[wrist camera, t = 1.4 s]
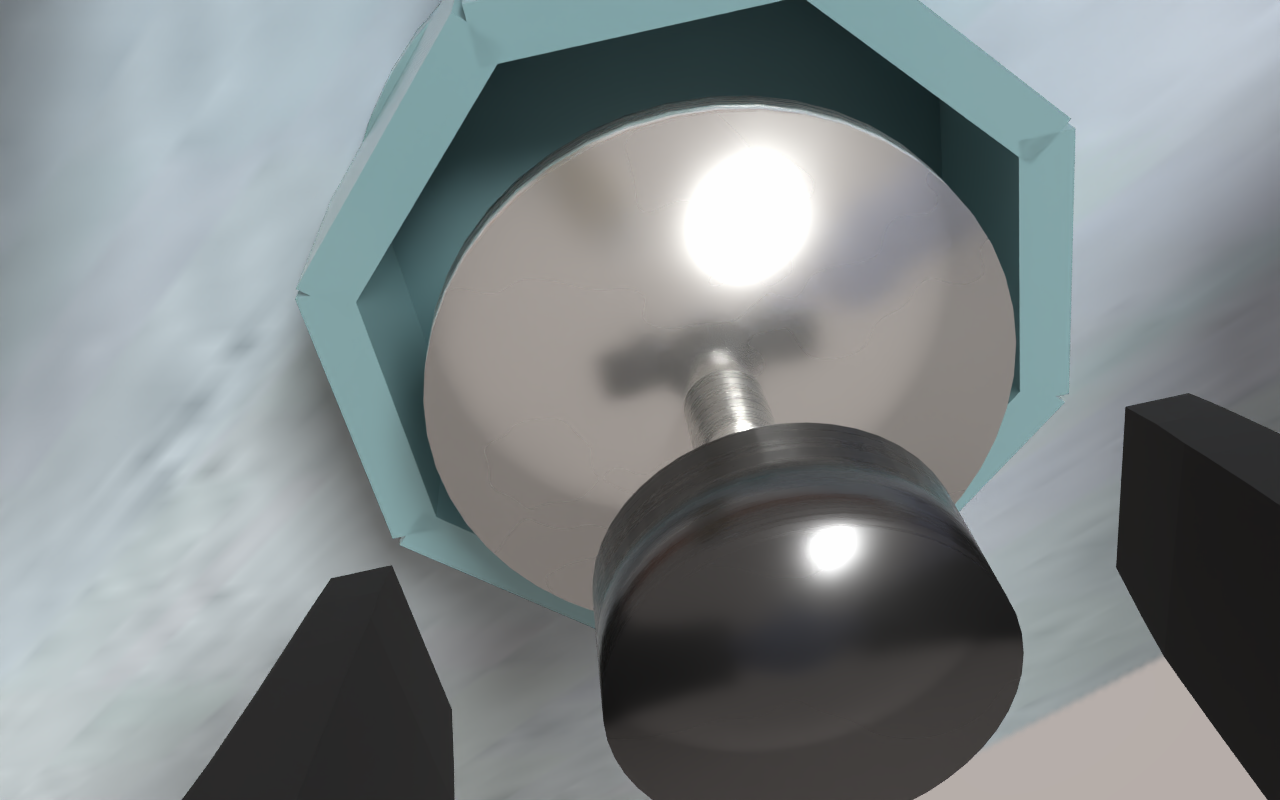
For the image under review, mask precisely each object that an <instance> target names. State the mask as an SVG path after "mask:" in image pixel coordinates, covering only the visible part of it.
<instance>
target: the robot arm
mask: <svg viewBox="0 0 1280 800" xmlns="http://www.w3.org/2000/svg"><path fill="white" fill-rule="evenodd" d="M1116 568H1117V570H1118V572H1119V574H1120V576H1121V578H1122V580H1123V581H1124V583H1125V585H1126V587H1127V589H1128V591H1129V593H1130V595H1131V597H1132V599H1133V601H1134V603H1135V605H1136V606H1137V608H1138V610H1139V612H1140V614H1141V616H1142V618H1143V620H1144V621H1145V623H1146V625H1147V627H1148V629H1149V630H1150V632H1151V634H1152V636H1153V637H1154V639H1155V641H1156V643H1157V645H1158V646H1159V648H1160V650H1161V652H1162V654H1163V655H1164V657H1165V658H1166V660H1167V661H1168V663H1169V664H1170V666H1171V667H1172V668H1173V670H1174V671H1175V673H1176V674H1177V676H1178V677H1179V678H1180V680H1181V681H1182V683H1183V684H1184V685H1185V687H1186V688H1187V690H1188V691H1189V692H1190V694H1191V695H1192V696H1193V698H1194V699H1195V701H1196V702H1197V704H1198V705H1199V706H1200V708H1201V709H1202V711H1203V712H1204V713H1205V715H1206V716H1207V717H1208V719H1209V720H1210V722H1211V723H1212V724H1213V726H1214V727H1215V728H1216V730H1217V731H1218V733H1219V734H1220V735H1221V737H1222V738H1223V740H1224V741H1225V742H1226V744H1227V745H1228V746H1229V748H1230V749H1231V751H1232V752H1233V753H1234V755H1235V756H1236V757H1237V759H1238V760H1239V761H1240V763H1241V764H1242V766H1243V767H1244V768H1245V770H1246V771H1247V772H1248V773H1249V775H1250V777H1251V778H1252V779H1253V781H1254V782H1255V783H1256V785H1257V786H1258V788H1259V789H1260V790H1261V792H1262V793H1263V794H1264V795H1265V797H1266V798H1267V800H1280V434H1279V433H1277V432H1275V431H1272V430H1270V429H1268V428H1266V427H1264V426H1262V425H1260V424H1257V423H1255V422H1253V421H1251V420H1249V419H1247V418H1245V417H1242V416H1240V415H1238V414H1236V413H1234V412H1231V411H1229V410H1227V409H1225V408H1223V407H1220V406H1218V405H1216V404H1213V403H1211V402H1209V401H1206V400H1204V399H1201V398H1199V397H1197V396H1194V395H1192V394H1189V393H1188V394H1183V395H1178V396H1174V397H1169V398H1165V399H1160V400H1155V401H1151V402H1146V403H1141V404H1137V405H1132V406H1128V407H1126V408H1125V425H1124V442H1123V460H1122V477H1121V494H1120V511H1119V528H1118V546H1117V563H1116ZM182 800H454V756H453V731H452V709H451V707H450V704H449V702H448V699H447V697H446V695H445V692H444V690H443V687H442V685H441V682H440V680H439V678H438V675H437V673H436V670H435V668H434V666H433V663H432V661H431V658H430V656H429V654H428V651H427V649H426V646H425V644H424V641H423V639H422V637H421V634H420V632H419V629H418V627H417V625H416V622H415V620H414V617H413V615H412V613H411V610H410V608H409V605H408V603H407V600H406V598H405V596H404V593H403V591H402V588H401V586H400V584H399V581H398V579H397V576H396V574H395V572H394V569H393V567H392V565H391V566H386V567H382V568H377V569H372V570H368V571H363V572H359V573H354V574H349V575H345V576H340V577H335V578H331V579H330V581H329V582H328V584H327V585H326V587H325V588H324V590H323V591H322V593H321V594H320V596H319V597H318V599H317V600H316V602H315V603H314V605H313V606H312V607H311V609H310V611H309V612H308V614H307V615H306V617H305V618H304V620H303V621H302V623H301V624H300V626H299V628H298V629H297V631H296V632H295V634H294V635H293V637H292V638H291V640H290V642H289V643H288V645H287V646H286V648H285V649H284V651H283V652H282V654H281V656H280V657H279V659H278V660H277V662H276V663H275V665H274V666H273V668H272V669H271V671H270V673H269V674H268V676H267V677H266V679H265V680H264V682H263V683H262V685H261V686H260V688H259V690H258V691H257V693H256V694H255V696H254V697H253V699H252V700H251V702H250V703H249V705H248V706H247V708H246V709H245V710H244V712H243V713H242V715H241V716H240V718H239V719H238V721H237V722H236V724H235V725H234V727H233V728H232V730H231V731H230V733H229V734H228V736H227V737H226V739H225V740H224V742H223V743H222V745H221V746H220V748H219V749H218V750H217V752H216V753H215V755H214V756H213V758H212V759H211V761H210V762H209V764H208V765H207V766H206V768H205V769H204V771H203V772H202V773H201V775H200V776H199V777H198V779H197V780H196V781H195V783H194V784H193V786H192V787H191V788H190V790H189V791H188V792H187V794H186V795H185V796H184V798H183V799H182Z"/></svg>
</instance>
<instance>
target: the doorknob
mask: <svg viewBox="0 0 1280 800" xmlns="http://www.w3.org/2000/svg"><path fill="white" fill-rule="evenodd" d="M1015 352H1016V334H1015V322H1014V310H1013V305H1012V301H1011V297H1010V293H1009V289H1008V285H1007V281H1006V277H1005V274H1004V272H1003V269H1002V267H1001V265H1000V262H999V260H998V258H997V255H996V253H995V250H994V248H993V246H992V244H991V242H990V240H989V239H988V237H987V236H986V234H985V233H984V231H983V229H982V228H981V226H980V225H979V223H978V221H977V220H976V218H975V217H974V215H973V214H972V213H971V211H970V210H969V209H968V208H967V207H966V206H965V205H964V204H963V202H962V201H961V200H960V199H959V198H958V197H957V196H956V194H955V193H954V192H953V191H952V190H951V189H950V188H949V187H948V185H947V184H946V183H945V182H944V181H943V180H942V179H941V178H940V177H939V176H938V175H937V174H936V173H935V172H934V171H933V170H932V169H931V168H930V167H929V166H928V165H927V164H925V163H924V162H923V161H922V160H921V159H919V158H918V157H917V156H916V155H915V154H913V153H912V152H911V151H910V150H908V149H907V148H906V147H905V146H904V145H902V144H901V143H899V142H897V141H896V140H894V139H892V138H891V137H889V136H887V135H886V134H884V133H882V132H881V131H879V130H877V129H876V128H874V127H872V126H870V125H868V124H866V123H863V122H861V121H859V120H856V119H854V118H851V117H849V116H846V115H844V114H842V113H839V112H837V111H834V110H831V109H827V108H823V107H819V106H815V105H811V104H807V103H803V102H799V101H796V100H789V99H780V98H771V97H762V96H753V95H749V96H709V97H702V98H696V99H689V100H683V101H676V102H670V103H665V104H662V105H658V106H655V107H651V108H648V109H644V110H641V111H637V112H634V113H630V114H627V115H624V116H622V117H619V118H617V119H615V120H613V121H610V122H608V123H606V124H603V125H601V126H599V127H596V128H594V129H592V130H590V131H587V132H585V133H583V134H582V135H580V136H578V137H577V138H575V139H573V140H572V141H570V142H568V143H567V144H565V145H563V146H562V147H560V148H558V149H557V150H555V151H553V152H552V153H550V154H548V155H547V156H546V157H545V158H543V159H542V160H541V161H540V162H538V163H537V164H536V165H535V166H533V167H532V168H531V169H530V170H528V171H527V172H526V173H524V174H523V175H522V176H521V177H519V178H518V179H517V180H516V181H515V182H514V183H513V184H512V185H511V186H510V187H509V188H508V189H507V190H506V191H505V192H504V193H503V194H502V195H501V196H500V197H499V198H498V199H497V200H496V202H495V203H494V204H493V205H492V206H491V207H490V208H489V209H488V210H487V211H486V213H485V214H484V216H483V217H482V218H481V220H480V221H479V222H478V224H477V225H476V226H475V228H474V229H473V231H472V232H471V233H470V235H469V236H468V237H467V239H466V240H465V242H464V244H463V246H462V247H461V249H460V251H459V253H458V255H457V257H456V259H455V261H454V262H453V264H452V266H451V268H450V270H449V272H448V274H447V276H446V279H445V282H444V285H443V288H442V290H441V293H440V296H439V299H438V302H437V304H436V307H435V311H434V316H433V321H432V326H431V332H430V337H429V342H428V348H427V355H426V362H425V373H424V398H423V404H424V413H425V421H426V430H427V437H428V440H429V444H430V448H431V451H432V455H433V458H434V462H435V466H436V469H437V471H438V473H439V475H440V477H441V480H442V482H443V484H444V486H445V489H446V491H447V493H448V495H449V497H450V499H451V500H452V502H453V503H454V505H455V507H456V508H457V510H458V511H459V513H460V514H461V516H462V517H463V519H464V521H465V522H466V524H467V525H468V526H469V527H470V528H471V529H472V531H473V532H474V533H475V534H476V535H477V536H478V538H479V539H480V540H481V541H482V542H483V543H484V544H485V546H486V547H487V548H488V549H489V550H490V551H492V552H493V553H494V554H495V555H496V556H497V557H498V558H500V559H501V560H502V561H503V562H504V563H505V564H506V565H508V566H509V567H510V568H511V569H512V570H514V571H515V572H517V573H518V574H520V575H521V576H523V577H524V578H526V579H527V580H529V581H530V582H532V583H533V584H535V585H536V586H538V587H540V588H541V589H543V590H545V591H547V592H549V593H551V594H553V595H555V596H557V597H559V598H561V599H563V600H565V601H567V602H570V603H573V604H575V605H578V606H581V607H584V608H586V609H589V610H592V611H594V619H595V630H596V642H597V653H598V664H599V676H600V687H601V698H602V710H603V721H604V726H605V731H606V736H607V740H608V743H609V745H610V747H611V750H612V752H613V755H614V757H615V759H616V760H617V762H618V764H619V765H620V767H621V768H622V770H623V771H624V773H625V774H626V775H627V776H628V778H629V779H630V780H631V781H632V782H633V783H634V784H635V785H636V786H637V787H638V788H639V789H640V790H641V791H642V792H644V793H645V794H646V795H647V796H649V797H650V798H651V799H652V800H913V799H915V798H917V797H919V796H921V795H923V794H924V793H926V792H928V791H930V790H931V789H933V788H934V787H936V786H937V785H939V784H940V783H942V782H943V781H945V780H946V779H948V778H949V777H950V776H951V775H953V774H954V773H955V772H956V771H958V770H959V769H960V768H961V767H963V766H964V765H965V764H966V763H967V762H968V761H969V760H970V759H971V758H972V757H973V756H974V755H975V754H976V753H977V752H978V751H979V750H980V749H981V748H982V747H983V746H984V745H985V744H986V743H987V741H988V740H989V739H990V738H991V736H992V735H993V734H994V733H995V731H996V730H997V729H998V727H999V725H1000V724H1001V722H1002V721H1003V719H1004V717H1005V716H1006V714H1007V712H1008V711H1009V708H1010V706H1011V704H1012V701H1013V699H1014V697H1015V695H1016V692H1017V689H1018V685H1019V681H1020V677H1021V674H1022V665H1023V653H1024V652H1023V642H1022V633H1021V629H1020V626H1019V622H1018V619H1017V616H1016V613H1015V611H1014V609H1013V607H1012V605H1011V604H1010V602H1009V600H1008V598H1007V596H1006V594H1005V592H1004V591H1003V589H1002V587H1001V585H1000V584H999V582H998V580H997V578H996V577H995V575H994V573H993V571H992V569H991V568H990V566H989V564H988V562H987V561H986V559H985V557H984V555H983V554H982V552H981V550H980V548H979V547H978V545H977V543H976V541H975V539H974V538H973V536H972V534H971V532H970V531H969V529H968V527H967V525H966V524H965V522H964V520H963V518H962V517H961V515H960V513H959V511H958V510H957V508H956V506H955V504H956V502H957V501H958V500H959V499H960V498H961V497H962V495H963V494H964V492H965V491H966V489H967V488H968V486H969V485H970V483H971V482H972V480H973V479H974V477H975V476H976V474H977V473H978V472H979V470H980V468H981V467H982V465H983V463H984V461H985V459H986V457H987V455H988V453H989V451H990V449H991V447H992V445H993V443H994V441H995V439H996V437H997V434H998V431H999V428H1000V426H1001V423H1002V420H1003V417H1004V415H1005V412H1006V409H1007V405H1008V401H1009V396H1010V391H1011V387H1012V382H1013V377H1014V367H1015Z"/></svg>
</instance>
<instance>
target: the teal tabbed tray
mask: <svg viewBox="0 0 1280 800" xmlns="http://www.w3.org/2000/svg"><path fill="white" fill-rule="evenodd" d="M749 95H753V96H762V97H771V98H780V99H789V100H796V101H799V102H803V103H807V104H811V105H815V106H819V107H823V108H827V109H831V110H834V111H837V112H839V113H842V114H844V115H846V116H849V117H851V118H854V119H856V120H859V121H861V122H863V123H866V124H868V125H870V126H872V127H874V128H876V129H877V130H879V131H881V132H882V133H884V134H886V135H887V136H889V137H891V138H892V139H894V140H896V141H897V142H899V143H901V144H902V145H904V146H905V147H906V148H907V149H908V150H910V151H911V152H912V153H913V154H915V155H916V156H917V157H918V158H919V159H921V160H922V161H923V162H924V163H925V164H927V165H928V166H929V167H930V168H931V169H932V170H933V171H934V172H935V173H936V174H937V175H938V176H939V177H940V178H941V179H942V180H943V181H944V182H945V183H946V184H947V185H948V187H949V188H950V189H951V190H952V191H953V192H954V193H955V194H956V196H957V197H958V198H959V199H960V200H961V201H962V202H963V204H964V205H965V206H966V207H967V208H968V209H969V210H970V211H971V213H972V214H973V215H974V217H975V218H976V220H977V221H978V223H979V225H980V226H981V228H982V229H983V231H984V233H985V234H986V236H987V237H988V239H989V240H990V242H991V244H992V246H993V248H994V250H995V253H996V255H997V258H998V260H999V262H1000V265H1001V267H1002V269H1003V272H1004V274H1005V277H1006V281H1007V285H1008V289H1009V293H1010V297H1011V301H1012V305H1013V310H1014V322H1015V334H1016V352H1015V367H1014V377H1013V382H1012V387H1011V391H1010V396H1009V401H1008V405H1007V409H1006V412H1005V415H1004V417H1003V420H1002V423H1001V426H1000V428H999V431H998V434H997V437H996V439H995V441H994V443H993V445H992V447H991V449H990V451H989V453H988V455H987V457H986V459H985V461H984V463H983V465H982V467H981V468H980V470H979V472H978V473H977V474H976V476H975V477H974V479H973V480H972V482H971V483H970V485H969V486H968V488H967V489H966V491H965V492H964V494H963V495H962V497H961V498H960V499H959V500H958V501H957V502H956V504H955V506H956V508H957V510H958V511H960V510H961V509H962V508H963V507H964V506H965V505H966V504H967V503H968V502H969V501H970V500H971V499H972V498H973V497H974V496H975V495H976V494H977V493H978V492H979V490H980V489H981V488H982V487H983V486H984V485H985V484H986V483H987V482H988V481H989V480H990V479H991V478H992V477H993V476H994V475H995V474H996V473H997V472H998V471H999V470H1000V469H1001V468H1002V467H1003V466H1004V465H1005V464H1006V463H1007V462H1008V461H1009V459H1010V458H1011V457H1012V456H1013V455H1014V454H1015V453H1016V452H1017V451H1018V450H1019V449H1020V448H1021V447H1022V446H1023V445H1024V444H1025V443H1026V442H1027V441H1028V440H1029V439H1030V438H1031V437H1032V436H1033V435H1034V434H1035V433H1036V432H1037V431H1038V430H1039V428H1040V427H1041V426H1042V425H1043V424H1044V423H1045V422H1046V421H1047V420H1048V419H1049V418H1050V417H1051V416H1052V415H1053V414H1054V413H1055V412H1056V411H1057V410H1058V409H1059V408H1060V407H1061V406H1062V405H1063V404H1064V403H1065V402H1064V401H1063V400H1062V399H1061V397H1060V395H1065V394H1069V366H1070V325H1071V285H1072V245H1073V204H1074V164H1075V128H1074V127H1073V126H1071V125H1070V124H1068V122H1069V121H1070V119H1071V118H1069V117H1068V116H1067V115H1065V114H1064V113H1063V112H1062V111H1060V110H1059V109H1058V108H1056V107H1055V106H1054V105H1053V104H1051V103H1050V102H1049V101H1047V100H1046V99H1045V98H1044V97H1042V96H1041V95H1040V94H1038V93H1037V92H1036V91H1035V90H1033V89H1032V88H1031V87H1029V86H1028V85H1027V84H1026V83H1024V82H1023V81H1022V80H1020V79H1019V78H1018V77H1017V76H1015V75H1014V74H1013V73H1011V72H1010V71H1009V70H1008V69H1006V68H1005V67H1004V66H1002V65H1001V64H1000V63H999V62H997V61H996V60H995V59H993V58H992V57H991V56H990V55H988V54H987V53H986V52H984V51H983V50H982V49H981V48H979V47H978V46H977V45H975V44H974V43H973V42H972V41H970V40H969V39H968V38H966V37H965V36H964V35H962V34H961V33H960V32H959V31H957V30H956V29H955V28H953V27H952V26H951V25H950V24H948V23H947V22H946V21H944V20H943V19H942V18H941V17H939V16H938V15H937V14H935V13H934V12H933V11H932V10H930V9H929V8H928V7H926V6H925V5H924V4H923V3H921V2H920V1H919V0H442V1H441V3H440V4H439V6H438V7H437V8H436V9H435V10H434V12H433V13H432V14H431V15H430V16H429V17H428V18H427V20H426V21H425V22H424V23H423V24H422V25H421V27H420V28H419V29H418V30H417V31H416V33H415V34H414V36H413V37H412V39H411V40H410V42H409V44H408V45H407V47H406V48H405V50H404V51H403V53H402V54H401V56H400V57H399V59H398V61H397V62H396V64H395V65H394V67H393V68H392V70H391V73H390V75H389V77H388V79H387V81H386V83H385V86H384V88H383V90H382V92H381V94H380V96H379V99H378V101H377V103H376V105H375V107H374V110H373V113H372V115H371V118H370V121H369V123H368V126H367V130H366V133H365V136H364V140H363V143H362V145H361V147H360V148H359V150H358V152H357V154H356V156H355V157H354V159H353V161H352V163H351V165H350V166H349V168H348V170H347V172H346V174H345V175H344V177H343V179H342V181H341V183H340V184H339V186H338V188H337V190H336V192H335V193H334V195H333V197H332V199H331V201H330V204H329V206H328V209H327V211H326V214H325V216H324V219H323V221H322V224H321V226H320V229H319V231H318V234H317V236H316V239H315V242H314V244H313V247H312V249H311V252H310V254H309V257H308V259H307V262H306V264H305V267H304V269H303V272H302V274H301V277H300V280H299V282H298V285H297V287H296V289H297V290H299V291H298V294H297V296H296V299H295V300H296V302H297V305H298V307H299V310H300V312H301V315H302V317H303V320H304V322H305V324H306V327H307V329H308V332H309V334H310V337H311V339H312V342H313V344H314V347H315V349H316V351H317V354H318V356H319V359H320V361H321V364H322V366H323V369H324V371H325V374H326V376H327V378H328V381H329V383H330V386H331V388H332V391H333V393H334V396H335V398H336V401H337V403H338V405H339V408H340V410H341V413H342V415H343V418H344V420H345V423H346V425H347V428H348V430H349V432H350V435H351V437H352V440H353V442H354V445H355V447H356V450H357V452H358V455H359V457H360V459H361V462H362V464H363V467H364V469H365V472H366V474H367V477H368V479H369V482H370V484H371V486H372V489H373V491H374V494H375V496H376V499H377V501H378V504H379V506H380V509H381V511H382V513H383V516H384V518H385V521H386V523H387V526H388V528H389V531H390V533H391V536H392V538H393V539H394V538H398V537H401V538H400V545H401V546H403V547H405V548H408V549H410V550H412V551H415V552H417V553H419V554H422V555H424V556H426V557H429V558H431V559H433V560H436V561H438V562H440V563H443V564H445V565H447V566H450V567H452V568H454V569H457V570H459V571H461V572H464V573H466V574H468V575H471V576H473V577H475V578H478V579H480V580H482V581H485V582H487V583H489V584H492V585H494V586H496V587H499V588H501V589H503V590H506V591H508V592H510V593H513V594H515V595H517V596H520V597H522V598H524V599H527V600H529V601H531V602H534V603H536V604H538V605H541V606H543V607H545V608H548V609H550V610H552V611H555V612H557V613H559V614H562V615H564V616H567V617H569V618H571V619H574V620H576V621H578V622H581V623H583V624H585V625H588V626H590V627H592V628H595V619H594V611H592V610H589V609H586V608H584V607H581V606H578V605H575V604H573V603H570V602H567V601H565V600H563V599H561V598H559V597H557V596H555V595H553V594H551V593H549V592H547V591H545V590H543V589H541V588H540V587H538V586H536V585H535V584H533V583H532V582H530V581H529V580H527V579H526V578H524V577H523V576H521V575H520V574H518V573H517V572H515V571H514V570H512V569H511V568H510V567H509V566H508V565H506V564H505V563H504V562H503V561H502V560H501V559H500V558H498V557H497V556H496V555H495V554H494V553H493V552H492V551H490V550H489V549H488V548H487V547H486V546H485V544H484V543H483V542H482V541H481V540H480V539H479V538H478V536H477V535H476V534H475V533H474V532H473V531H472V529H471V528H470V527H469V526H468V525H467V524H466V522H465V521H464V519H463V517H462V516H461V514H460V513H459V511H458V510H457V508H456V507H455V505H454V503H453V502H452V500H451V499H450V497H449V495H448V493H447V491H446V489H445V486H444V484H443V482H442V480H441V477H440V475H439V473H438V471H437V469H436V466H435V462H434V458H433V455H432V451H431V448H430V444H429V440H428V437H427V430H426V421H425V413H424V404H423V398H424V373H425V362H426V355H427V348H428V342H429V337H430V332H431V326H432V321H433V316H434V311H435V307H436V304H437V302H438V299H439V296H440V293H441V290H442V288H443V285H444V282H445V279H446V276H447V274H448V272H449V270H450V268H451V266H452V264H453V262H454V261H455V259H456V257H457V255H458V253H459V251H460V249H461V247H462V246H463V244H464V242H465V240H466V239H467V237H468V236H469V235H470V233H471V232H472V231H473V229H474V228H475V226H476V225H477V224H478V222H479V221H480V220H481V218H482V217H483V216H484V214H485V213H486V211H487V210H488V209H489V208H490V207H491V206H492V205H493V204H494V203H495V202H496V200H497V199H498V198H499V197H500V196H501V195H502V194H503V193H504V192H505V191H506V190H507V189H508V188H509V187H510V186H511V185H512V184H513V183H514V182H515V181H516V180H517V179H518V178H519V177H521V176H522V175H523V174H524V173H526V172H527V171H528V170H530V169H531V168H532V167H533V166H535V165H536V164H537V163H538V162H540V161H541V160H542V159H543V158H545V157H546V156H547V155H548V154H550V153H552V152H553V151H555V150H557V149H558V148H560V147H562V146H563V145H565V144H567V143H568V142H570V141H572V140H573V139H575V138H577V137H578V136H580V135H582V134H583V133H585V132H587V131H590V130H592V129H594V128H596V127H599V126H601V125H603V124H606V123H608V122H610V121H613V120H615V119H617V118H619V117H622V116H624V115H627V114H630V113H634V112H637V111H641V110H644V109H648V108H651V107H655V106H658V105H662V104H665V103H670V102H676V101H683V100H689V99H696V98H702V97H709V96H749Z"/></svg>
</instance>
